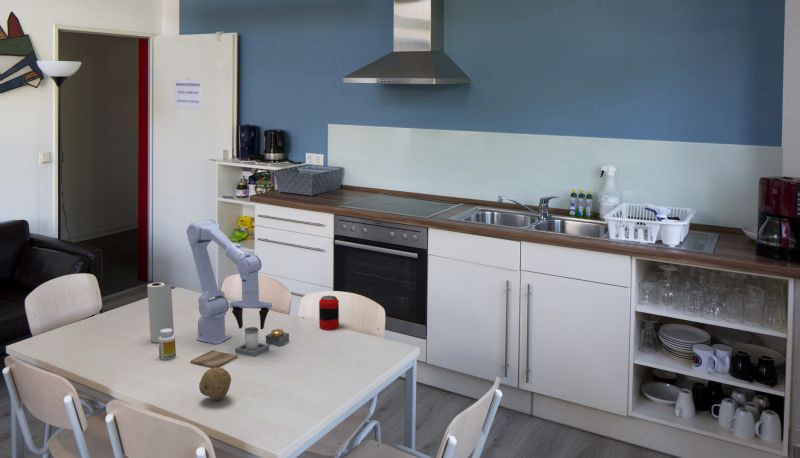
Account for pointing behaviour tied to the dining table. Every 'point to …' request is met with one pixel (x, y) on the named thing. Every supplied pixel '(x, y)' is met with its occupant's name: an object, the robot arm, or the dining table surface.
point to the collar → (243, 350)
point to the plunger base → (277, 339)
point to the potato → (215, 383)
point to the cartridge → (251, 338)
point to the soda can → (329, 313)
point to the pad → (213, 359)
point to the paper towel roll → (159, 309)
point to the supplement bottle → (166, 344)
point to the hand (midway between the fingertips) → (251, 328)
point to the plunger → (277, 332)
